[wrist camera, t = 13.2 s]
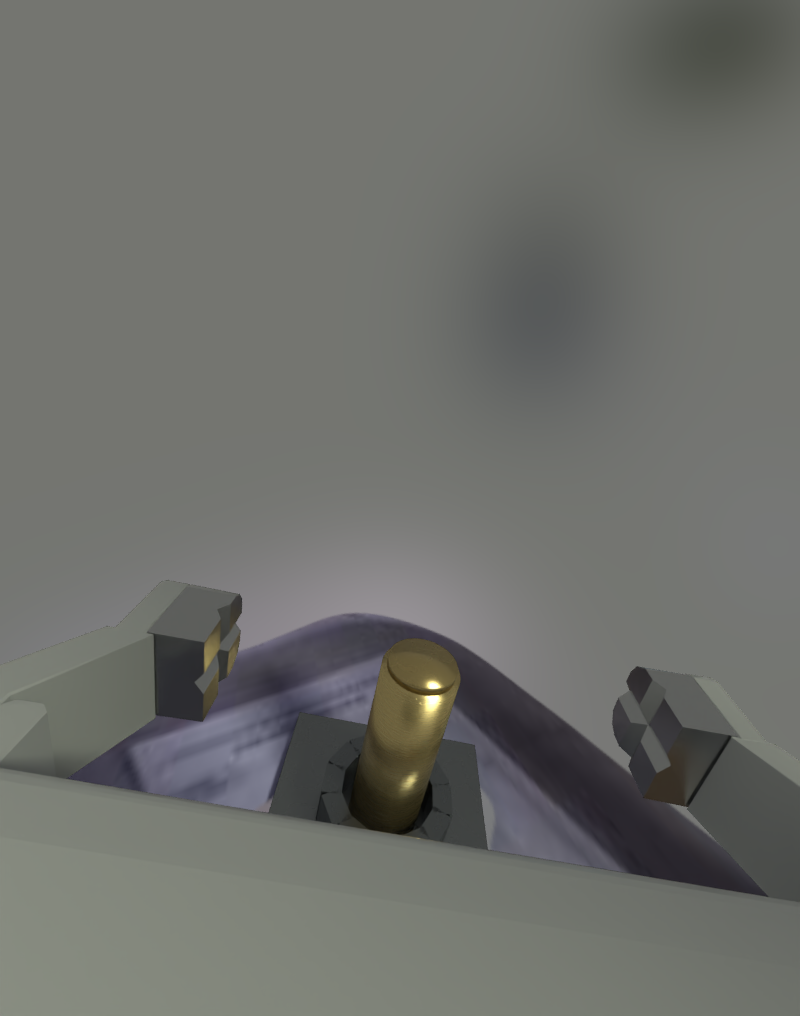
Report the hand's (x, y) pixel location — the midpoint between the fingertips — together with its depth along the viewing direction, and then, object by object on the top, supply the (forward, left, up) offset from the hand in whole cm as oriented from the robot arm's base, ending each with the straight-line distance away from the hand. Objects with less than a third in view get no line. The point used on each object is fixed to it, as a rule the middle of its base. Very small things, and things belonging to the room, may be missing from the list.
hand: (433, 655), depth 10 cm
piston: (-3, -16, -28) cm, 32 cm away
